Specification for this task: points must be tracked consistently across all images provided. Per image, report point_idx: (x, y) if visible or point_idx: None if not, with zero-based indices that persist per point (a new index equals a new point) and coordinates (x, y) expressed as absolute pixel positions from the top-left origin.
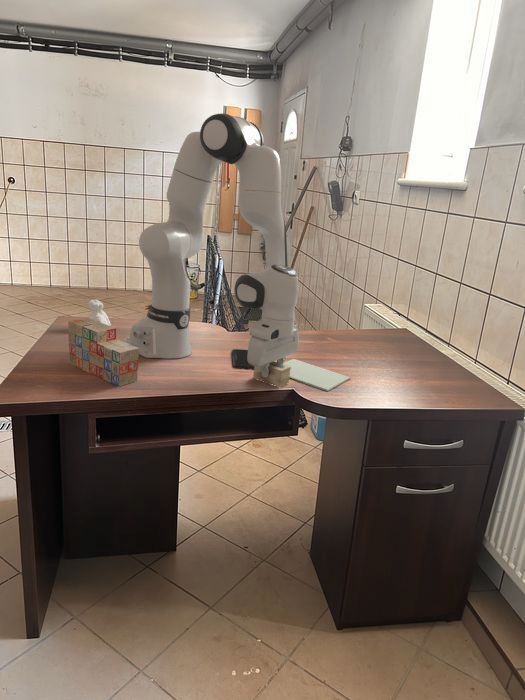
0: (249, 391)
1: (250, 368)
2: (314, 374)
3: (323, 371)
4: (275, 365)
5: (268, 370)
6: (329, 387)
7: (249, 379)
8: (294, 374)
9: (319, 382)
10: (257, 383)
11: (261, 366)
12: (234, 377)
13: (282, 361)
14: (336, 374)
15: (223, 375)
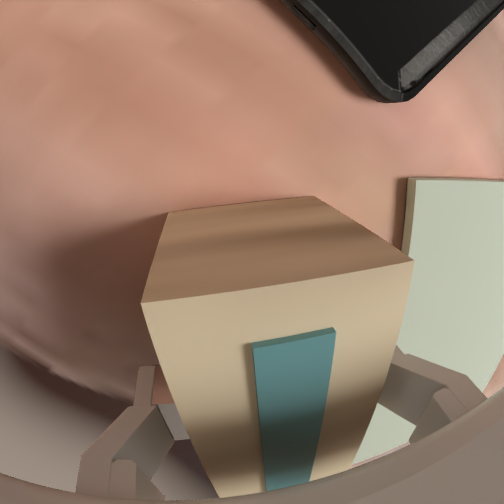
0: (17, 351)
1: (331, 47)
2: (463, 363)
3: (496, 348)
4: (269, 469)
5: (166, 450)
6: (370, 455)
7: (119, 215)
8: (428, 335)
9: (396, 425)
10: (124, 307)
11: (99, 451)
12: (44, 113)
13: (410, 419)
14: (484, 379)
15: (15, 44)
